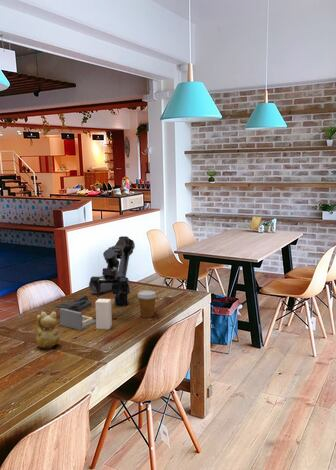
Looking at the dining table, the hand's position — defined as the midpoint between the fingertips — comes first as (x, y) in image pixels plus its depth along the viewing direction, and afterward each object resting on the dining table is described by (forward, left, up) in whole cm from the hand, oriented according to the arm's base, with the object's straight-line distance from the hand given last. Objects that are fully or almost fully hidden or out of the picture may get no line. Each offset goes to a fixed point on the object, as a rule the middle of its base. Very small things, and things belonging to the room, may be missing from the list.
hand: (107, 297), depth 204 cm
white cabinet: (+3, +6, -12) cm, 14 cm away
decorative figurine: (+30, +19, -13) cm, 37 cm away
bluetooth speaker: (-11, -51, -13) cm, 54 cm away
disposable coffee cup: (-20, -1, -13) cm, 24 cm away
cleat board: (+14, -3, -12) cm, 19 cm away
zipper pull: (+13, -23, -13) cm, 29 cm away
